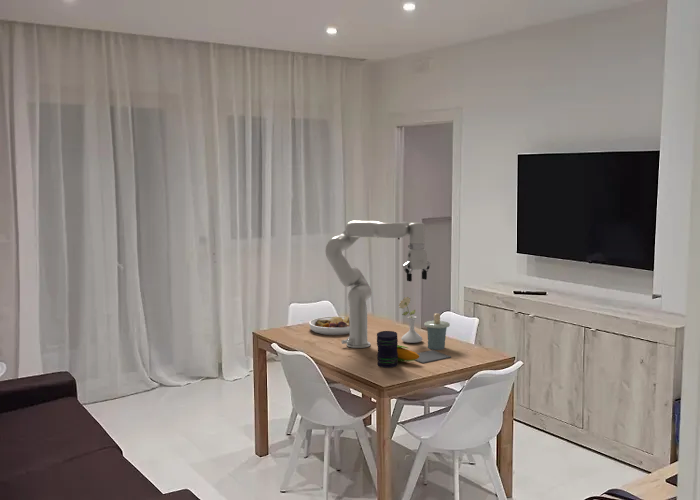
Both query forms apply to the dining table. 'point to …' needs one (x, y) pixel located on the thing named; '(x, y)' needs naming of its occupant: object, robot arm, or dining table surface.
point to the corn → (406, 354)
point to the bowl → (330, 325)
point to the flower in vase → (411, 334)
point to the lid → (436, 322)
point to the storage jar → (387, 349)
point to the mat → (431, 356)
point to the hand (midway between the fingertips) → (416, 280)
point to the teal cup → (436, 338)
